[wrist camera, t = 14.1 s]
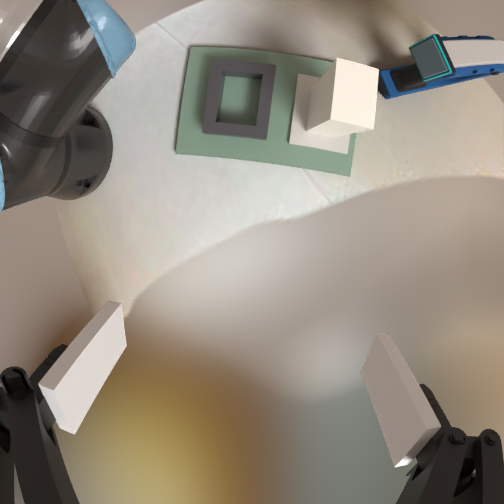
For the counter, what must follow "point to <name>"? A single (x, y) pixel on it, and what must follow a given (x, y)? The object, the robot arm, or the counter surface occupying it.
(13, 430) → the robot arm
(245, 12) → the counter surface
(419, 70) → the handheld scanner
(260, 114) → the green socket board
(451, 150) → the counter surface
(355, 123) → the plug
